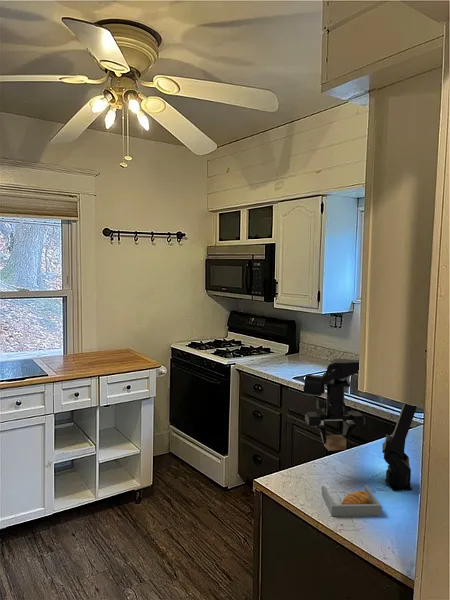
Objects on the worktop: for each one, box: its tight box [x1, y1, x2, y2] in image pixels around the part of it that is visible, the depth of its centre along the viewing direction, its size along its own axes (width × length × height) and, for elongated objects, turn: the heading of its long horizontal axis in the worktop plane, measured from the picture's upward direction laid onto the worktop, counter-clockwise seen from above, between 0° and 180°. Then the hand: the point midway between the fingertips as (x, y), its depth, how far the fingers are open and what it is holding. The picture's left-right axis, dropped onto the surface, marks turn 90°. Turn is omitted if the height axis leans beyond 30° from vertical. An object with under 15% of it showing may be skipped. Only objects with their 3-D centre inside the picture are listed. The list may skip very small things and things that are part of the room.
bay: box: [321, 484, 382, 517], centre depth 136 cm, size 14×11×3 cm
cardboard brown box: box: [323, 434, 347, 452], centre depth 152 cm, size 6×4×4 cm, turn 100°
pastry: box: [340, 490, 372, 505], centre depth 135 cm, size 9×7×4 cm
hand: (333, 443), depth 153 cm, fingers closed on cardboard brown box, 6 cm apart
